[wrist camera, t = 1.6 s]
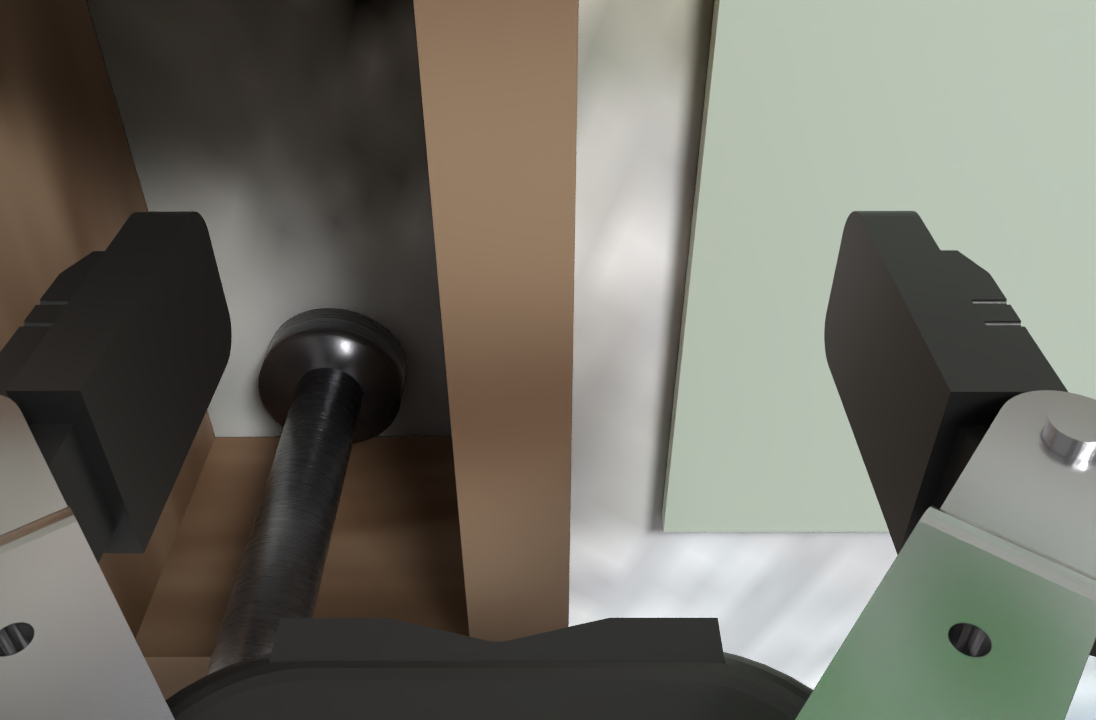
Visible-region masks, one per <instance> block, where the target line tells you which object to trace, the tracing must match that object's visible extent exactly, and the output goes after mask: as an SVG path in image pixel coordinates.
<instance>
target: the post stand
mask: <svg viewBox="0 0 1096 720" xmlns="http://www.w3.org/2000/svg"><path fill="white" fill-rule="evenodd" d="M405 376H406V362H405V357H404V354H403V351H402V349H401V347H400V346H399V344H398V342H397V341H396V340H395V338H394V337H393V336H392V335H391V334H390V333H389V332H388V331H387V330H386V329H385V328H384V327H382V326H381V325H380V324H378V323H377V322H375V321H374V320H372V319H370V318H368V317H366V316H363V315H361V314H358V313H355V312H351V311H347V310H341V309H316V310H310V311H307V312H304V313H301V314H298V315H296V316H294V317H292V318H291V319H289V320H288V321H286V322H285V323H284V324H283V325H282V326H281V327H280V328H279V329H278V330H277V332H276V333H275V335H274V337H273V339H272V341H271V344H270V347H269V349H268V352H267V355H266V357H265V360H264V363H263V366H262V368H261V371H260V375H259V392H260V396H261V399H262V401H263V403H264V405H265V407H266V409H267V410H268V412H269V413H270V414H271V415H272V416H273V418H274V419H275V420H276V421H277V422H279V423H280V424H281V425H282V426H284V428H283V432H282V435H281V438H280V441H279V444H278V447H277V451H276V454H275V457H274V460H273V463H272V466H271V469H270V473H269V476H268V479H267V482H266V485H265V488H264V492H263V495H262V498H261V501H260V504H259V507H258V511H257V514H256V517H255V520H254V523H253V526H252V530H251V533H250V536H249V539H248V542H247V545H246V548H245V552H244V555H243V558H242V561H241V564H240V567H239V571H238V574H237V577H236V580H235V583H234V586H233V590H232V593H231V596H230V599H229V602H228V605H227V609H226V612H225V615H224V618H223V621H222V624H221V627H220V631H219V634H218V637H217V640H216V643H215V646H214V650H213V653H212V656H211V659H210V662H209V665H208V669H207V672H206V675H205V676H207V675H209V674H211V673H213V672H216V671H218V670H220V669H222V668H225V667H227V666H229V665H231V664H234V663H237V662H240V661H243V660H246V659H249V658H252V657H255V656H259V655H263V654H267V653H271V651H272V648H273V644H274V641H275V637H276V633H277V630H278V626H279V622H280V619H281V618H313V615H314V611H315V606H316V602H317V598H318V593H319V589H320V585H321V580H322V576H323V571H324V567H325V563H326V558H327V554H328V550H329V545H330V541H331V537H332V532H333V528H334V523H335V519H336V515H337V510H338V506H339V502H340V497H341V493H342V489H343V484H344V480H345V475H346V471H347V467H348V462H349V458H350V454H351V449H352V445H353V443H358V442H362V441H366V440H368V439H371V438H373V437H375V436H377V435H379V434H380V433H382V432H383V431H384V430H386V429H387V428H388V427H389V426H390V425H391V424H392V422H393V421H394V420H395V418H396V416H397V414H398V411H399V408H400V404H401V398H402V393H403V387H404V381H405Z"/></svg>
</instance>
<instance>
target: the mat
mask: <svg viewBox="0 0 1096 720" xmlns="http://www.w3.org/2000/svg"><path fill="white" fill-rule="evenodd" d="M853 211H915V212H917V213H918V215H919V216H920V217H921V219H922V221H923V222H924V224H925V226H926V227H927V229H928V230H929V232H930V234H931V235H932V237H933V239H934V240H935V242H936V244H937V245H938V247H939V248H940V250H958V251H959V252H960V253H962V254H963V255H965V256H966V257H967V258H969V259H970V260H972V261H973V262H974V263H976V264H977V265H979V266H980V267H982V268H983V269H984V270H986V271H987V272H989V273H990V275H991V276H992V278H993V279H994V281H995V282H996V284H997V285H998V287H999V288H1000V290H1001V291H1002V293H1003V294H1004V296H1005V297H1006V299H1007V305H1011V306H1012V308H1013V309H1014V311H1015V312H1016V314H1017V315H1018V317H1019V318H1020V320H1021V326H1025V327H1026V329H1027V330H1028V332H1029V333H1030V335H1031V336H1032V338H1033V339H1034V341H1035V342H1036V344H1037V345H1038V347H1039V348H1040V350H1041V351H1042V353H1043V354H1044V356H1045V357H1046V359H1047V360H1048V362H1049V363H1050V365H1051V366H1052V368H1053V369H1054V371H1055V372H1056V374H1057V376H1058V377H1059V379H1060V380H1061V382H1062V383H1063V385H1064V386H1065V388H1066V389H1067V391H1068V392H1070V393H1074V394H1079V395H1083V396H1086V397H1089V398H1092V399H1095V400H1096V0H715V2H714V11H713V21H712V31H711V41H710V50H709V60H708V70H707V80H706V89H705V99H704V109H703V118H702V128H701V138H700V148H699V157H698V167H697V177H696V187H695V196H694V206H693V216H692V226H691V235H690V245H689V255H688V265H687V274H686V284H685V294H684V304H683V313H682V323H681V333H680V342H679V352H678V362H677V372H676V381H675V391H674V401H673V411H672V420H671V430H670V440H669V450H668V459H667V469H666V479H665V489H664V498H663V508H662V525H663V532H889V530H888V527H887V524H886V522H885V519H884V516H883V513H882V511H881V508H880V505H879V502H878V500H877V497H876V494H875V492H874V489H873V486H872V483H871V481H870V478H869V475H868V472H867V470H866V467H865V464H864V461H863V459H862V456H861V453H860V451H859V448H858V445H857V442H856V440H855V437H854V434H853V431H852V429H851V426H850V423H849V421H848V418H847V415H846V412H845V410H844V407H843V404H842V401H841V399H840V396H839V393H838V391H837V388H836V385H835V382H834V380H833V377H832V374H831V371H830V369H829V366H828V363H827V359H826V353H825V342H824V329H825V318H826V312H827V307H828V303H829V298H830V293H831V288H832V283H833V278H834V273H835V269H836V264H837V259H838V254H839V249H840V244H841V239H842V235H843V230H844V226H845V223H846V220H847V218H848V216H849V215H850V213H852V212H853Z"/></svg>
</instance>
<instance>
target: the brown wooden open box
mask: <svg viewBox="0 0 1096 720" xmlns="http://www.w3.org/2000/svg"><path fill="white" fill-rule="evenodd" d="M413 2H414V13H415V25H416V36H417V47H418V59H419V70H420V81H421V93H422V104H423V115H424V126H425V138H426V149H427V160H428V172H429V183H430V194H431V206H432V217H433V228H434V240H435V251H436V262H437V274H438V285H439V296H440V308H441V319H442V330H443V342H444V353H445V364H446V375H447V387H448V398H449V409H450V421H451V432H452V437H373V438H371V439H368V440H366V441H362V442H358V443H353V445H352V449H351V454H350V458H349V462H348V467H347V471H346V475H345V480H344V484H343V489H342V493H341V497H340V502H339V506H338V510H337V515H336V519H335V523H334V528H333V532H332V537H331V541H330V545H329V550H328V554H327V558H326V563H325V567H324V571H323V576H322V580H321V585H320V589H319V593H318V598H317V602H316V606H315V611H314V615H313V618H391V619H395V620H399V621H404V622H408V623H412V624H417V625H421V626H426V627H430V628H434V629H439V630H443V631H447V632H452V633H456V634H460V635H465V636H469V637H474V638H478V639H482V640H487V641H508V640H513V639H517V638H522V637H526V636H531V635H535V634H540V633H544V632H549V631H553V630H558V629H562V628H567V627H568V616H569V555H570V494H571V433H572V373H573V312H574V251H575V190H576V129H577V68H578V7H579V0H413ZM134 212H148V209H147V206H146V202H145V199H144V195H143V192H142V189H141V185H140V182H139V179H138V175H137V172H136V168H135V165H134V162H133V158H132V155H131V152H130V148H129V145H128V141H127V138H126V135H125V131H124V128H123V125H122V121H121V118H120V114H119V111H118V108H117V104H116V101H115V98H114V94H113V91H112V87H111V84H110V81H109V77H108V74H107V71H106V67H105V64H104V60H103V57H102V54H101V50H100V47H99V43H98V40H97V37H96V33H95V30H94V27H93V23H92V20H91V16H90V13H89V10H88V6H87V3H86V0H0V352H1V350H2V349H3V348H4V346H5V345H6V344H7V342H8V341H9V340H10V339H11V337H12V336H13V335H14V333H15V332H16V331H17V329H18V328H19V327H24V320H25V319H26V317H27V316H28V315H29V313H30V312H31V311H32V309H33V308H34V307H35V305H40V299H41V297H42V296H43V295H44V294H45V292H46V291H47V290H48V288H49V287H50V286H51V284H52V283H53V282H54V280H55V279H56V278H57V276H58V275H59V274H60V273H61V272H63V271H64V270H66V269H67V268H69V267H70V266H72V265H73V264H75V263H76V262H78V261H79V260H81V259H82V258H84V257H85V256H87V255H88V254H90V253H91V252H93V251H105V250H106V249H107V247H108V246H109V245H110V243H111V242H112V240H113V239H114V238H115V236H116V235H117V233H118V232H119V231H120V229H121V228H122V226H123V225H124V223H125V222H126V221H127V219H128V218H129V217H130V215H131V214H133V213H134ZM280 438H281V437H215V435H214V432H213V429H212V425H211V422H210V418H209V415H208V412H207V411H206V413H205V415H204V418H203V420H202V422H201V425H200V427H199V429H198V431H197V434H196V436H195V438H194V440H193V443H192V445H191V447H190V450H189V452H188V454H187V456H186V459H185V461H184V463H183V466H182V468H181V470H180V472H179V475H178V477H177V479H176V481H175V484H174V486H173V488H172V491H171V493H170V495H169V497H168V500H167V502H166V504H165V506H164V509H163V511H162V513H161V516H160V518H159V520H158V522H157V525H156V527H155V529H154V532H153V534H152V536H151V538H150V541H149V543H148V545H147V547H146V550H145V552H144V553H103V555H102V557H101V559H100V561H99V563H98V565H99V567H100V569H101V571H102V573H103V575H104V577H105V579H106V581H107V583H108V585H109V587H110V589H111V591H112V593H113V595H114V597H115V599H116V601H117V603H118V605H119V607H120V609H121V611H122V613H123V615H124V617H125V619H126V622H127V624H128V626H129V628H130V630H131V632H132V634H133V636H134V638H135V640H136V642H137V644H138V646H139V648H140V650H141V652H142V654H143V656H144V658H145V660H146V662H147V664H148V666H149V668H150V670H151V672H152V674H153V676H154V678H155V680H156V683H157V685H158V687H159V689H160V691H161V693H162V695H163V697H164V699H165V700H167V699H168V698H170V697H171V696H172V695H174V694H175V693H177V692H178V691H180V690H181V689H183V688H185V687H187V686H188V685H190V684H192V683H194V682H196V681H197V680H199V679H201V678H203V677H205V675H206V672H207V669H208V665H209V662H210V659H211V656H212V653H213V650H214V646H215V643H216V640H217V637H218V634H219V631H220V627H221V624H222V621H223V618H224V615H225V612H226V609H227V605H228V602H229V599H230V596H231V593H232V590H233V586H234V583H235V580H236V577H237V574H238V571H239V567H240V564H241V561H242V558H243V555H244V552H245V548H246V545H247V542H248V539H249V536H250V533H251V530H252V526H253V523H254V520H255V517H256V514H257V511H258V507H259V504H260V501H261V498H262V495H263V492H264V488H265V485H266V482H267V479H268V476H269V473H270V469H271V466H272V463H273V460H274V457H275V454H276V451H277V447H278V444H279V441H280Z"/></svg>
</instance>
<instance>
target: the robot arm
mask: <svg viewBox="0 0 1096 720" xmlns="http://www.w3.org/2000/svg"><path fill="white" fill-rule="evenodd" d="M824 342H825V353H826V359H827V363H828V366H829V369H830V371H831V374H832V377H833V380H834V382H835V385H836V388H837V391H838V393H839V396H840V399H841V401H842V404H843V407H844V410H845V412H846V415H847V418H848V421H849V423H850V426H851V429H852V431H853V434H854V437H855V440H856V442H857V445H858V448H859V451H860V453H861V456H862V459H863V461H864V464H865V467H866V470H867V472H868V475H869V478H870V481H871V483H872V486H873V489H874V492H875V494H876V497H877V500H878V502H879V505H880V508H881V511H882V513H883V516H884V519H885V522H886V524H887V527H888V530H889V532H890V535H891V538H892V541H893V543H894V546H895V549H896V552H897V554H898V556H897V557H896V559H895V560H894V562H893V564H892V565H891V567H890V568H889V570H888V572H887V573H886V575H885V576H884V578H883V580H882V581H881V583H880V585H879V586H878V588H877V589H876V591H875V593H874V594H873V596H872V597H871V599H870V601H869V602H868V604H867V605H866V607H865V609H864V610H863V612H862V613H861V615H860V617H859V618H858V620H857V621H856V623H855V625H854V626H853V628H852V629H851V631H850V633H849V634H848V636H847V637H846V639H845V641H844V642H843V644H842V645H841V647H840V649H839V650H838V652H837V653H836V655H835V657H834V658H833V660H832V661H831V663H830V665H829V666H828V668H827V669H826V671H825V673H824V674H823V676H822V677H821V679H820V681H819V682H818V684H817V685H816V687H815V689H814V690H812V689H811V688H809V687H807V686H806V685H804V684H802V683H800V682H799V681H797V680H795V679H794V678H792V677H790V676H788V675H786V674H784V673H782V672H780V671H778V670H775V669H773V668H771V667H769V666H767V665H764V664H761V663H759V662H756V661H753V660H750V659H747V658H744V657H741V656H738V655H734V654H729V653H725V652H723V649H722V643H721V637H720V631H719V624H718V618H607V619H603V620H598V621H594V622H589V623H585V624H580V625H576V626H571V627H567V628H562V629H558V630H553V631H549V632H544V633H540V634H535V635H531V636H526V637H522V638H517V639H513V640H508V641H487V640H482V639H478V638H474V637H469V636H465V635H460V634H456V633H452V632H447V631H443V630H439V629H434V628H430V627H426V626H421V625H417V624H412V623H408V622H404V621H399V620H395V619H391V618H281V619H280V622H279V626H278V630H277V633H276V637H275V641H274V644H273V648H272V651H271V653H267V654H263V655H259V656H255V657H252V658H249V659H246V660H243V661H240V662H237V663H234V664H231V665H229V666H227V667H225V668H222V669H220V670H218V671H216V672H213V673H211V674H209V675H207V676H205V677H203V678H201V679H199V680H197V681H196V682H194V683H192V684H190V685H188V686H187V687H185V688H183V689H181V690H180V691H178V692H177V693H175V694H174V695H172V696H171V697H170V698H168V699H167V700H165V699H164V697H163V695H162V693H161V691H160V689H159V687H158V685H157V683H156V680H155V678H154V676H153V674H152V672H151V670H150V668H149V666H148V664H147V662H146V660H145V658H144V656H143V654H142V652H141V650H140V648H139V646H138V644H137V642H136V640H135V638H134V636H133V634H132V632H131V630H130V628H129V626H128V624H127V622H126V619H125V617H124V615H123V613H122V611H121V609H120V607H119V605H118V603H117V601H116V599H115V597H114V595H113V593H112V591H111V589H110V587H109V585H108V583H107V581H106V579H105V577H104V575H103V573H102V571H101V569H100V567H99V565H98V563H99V561H100V559H101V557H102V555H103V553H144V552H145V550H146V547H147V545H148V543H149V541H150V538H151V536H152V534H153V532H154V529H155V527H156V525H157V522H158V520H159V518H160V516H161V513H162V511H163V509H164V506H165V504H166V502H167V500H168V497H169V495H170V493H171V491H172V488H173V486H174V484H175V481H176V479H177V477H178V475H179V472H180V470H181V468H182V466H183V463H184V461H185V459H186V456H187V454H188V452H189V450H190V447H191V445H192V443H193V440H194V438H195V436H196V434H197V431H198V429H199V427H200V425H201V422H202V420H203V418H204V415H205V413H206V411H207V409H208V406H209V404H210V402H211V400H212V397H213V395H214V393H215V390H216V388H217V386H218V384H219V381H220V379H221V377H222V374H223V372H224V370H225V368H226V365H227V363H228V359H229V356H230V350H231V322H230V316H229V311H228V307H227V303H226V299H225V295H224V291H223V288H222V284H221V280H220V276H219V272H218V268H217V264H216V260H215V256H214V252H213V248H212V244H211V240H210V236H209V232H208V229H207V226H206V223H205V221H204V219H203V218H202V216H201V215H200V214H199V213H198V212H134V213H133V214H131V215H130V217H129V218H128V219H127V221H126V222H125V223H124V225H123V226H122V228H121V229H120V231H119V232H118V233H117V235H116V236H115V238H114V239H113V240H112V242H111V243H110V245H109V246H108V247H107V249H106V250H105V251H93V252H91V253H90V254H88V255H87V256H85V257H84V258H82V259H81V260H79V261H78V262H76V263H75V264H73V265H72V266H70V267H69V268H67V269H66V270H64V271H63V272H61V273H60V274H59V275H58V276H57V278H56V279H55V280H54V282H53V283H52V284H51V286H50V287H49V288H48V290H47V291H46V292H45V294H44V295H43V296H42V297H41V299H40V305H35V307H34V308H33V309H32V311H31V312H30V313H29V315H28V316H27V317H26V319H25V320H24V327H19V328H18V329H17V331H16V332H15V333H14V335H13V336H12V337H11V339H10V340H9V341H8V342H7V344H6V345H5V346H4V348H3V349H2V350H1V352H0V720H1065V717H1066V714H1067V712H1068V709H1069V706H1070V704H1071V701H1072V699H1073V696H1074V693H1075V691H1076V688H1077V685H1078V683H1079V680H1080V678H1081V675H1082V672H1083V670H1084V667H1085V664H1086V662H1087V659H1088V657H1089V655H1091V656H1095V657H1096V400H1095V399H1092V398H1089V397H1086V396H1083V395H1079V394H1074V393H1070V392H1068V391H1067V389H1066V388H1065V386H1064V385H1063V383H1062V382H1061V380H1060V379H1059V377H1058V376H1057V374H1056V372H1055V371H1054V369H1053V368H1052V366H1051V365H1050V363H1049V362H1048V360H1047V359H1046V357H1045V356H1044V354H1043V353H1042V351H1041V350H1040V348H1039V347H1038V345H1037V344H1036V342H1035V341H1034V339H1033V338H1032V336H1031V335H1030V333H1029V332H1028V330H1027V329H1026V327H1025V326H1021V320H1020V318H1019V317H1018V315H1017V314H1016V312H1015V311H1014V309H1013V308H1012V306H1011V305H1007V299H1006V297H1005V296H1004V294H1003V293H1002V291H1001V290H1000V288H999V287H998V285H997V284H996V282H995V281H994V279H993V278H992V276H991V275H990V273H989V272H987V271H986V270H984V269H983V268H982V267H980V266H979V265H977V264H976V263H974V262H973V261H972V260H970V259H969V258H967V257H966V256H965V255H963V254H962V253H960V252H959V251H958V250H940V248H939V247H938V245H937V244H936V242H935V240H934V239H933V237H932V235H931V234H930V232H929V230H928V229H927V227H926V226H925V224H924V222H923V221H922V219H921V217H920V216H919V215H918V213H917V212H915V211H853V212H852V213H850V215H849V216H848V218H847V220H846V223H845V226H844V230H843V235H842V239H841V244H840V249H839V254H838V259H837V264H836V269H835V273H834V278H833V283H832V288H831V293H830V298H829V303H828V307H827V312H826V318H825V329H824Z"/></svg>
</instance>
